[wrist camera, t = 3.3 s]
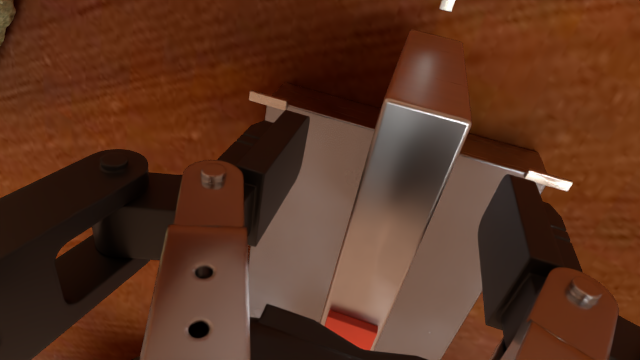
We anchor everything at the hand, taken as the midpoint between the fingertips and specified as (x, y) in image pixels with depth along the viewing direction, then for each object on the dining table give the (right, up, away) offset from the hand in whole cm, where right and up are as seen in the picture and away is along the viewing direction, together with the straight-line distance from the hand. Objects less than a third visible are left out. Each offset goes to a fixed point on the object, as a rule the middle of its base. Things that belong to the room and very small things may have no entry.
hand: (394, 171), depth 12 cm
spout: (+1, +1, +2) cm, 2 cm away
